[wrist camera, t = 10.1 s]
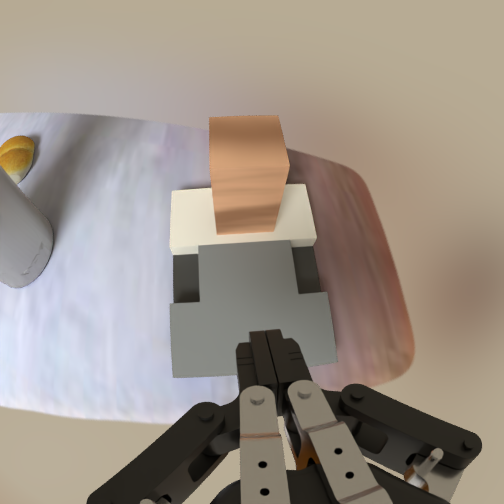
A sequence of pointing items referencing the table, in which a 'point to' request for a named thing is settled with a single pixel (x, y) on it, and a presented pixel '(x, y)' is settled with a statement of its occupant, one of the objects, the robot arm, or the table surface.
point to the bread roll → (17, 157)
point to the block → (247, 172)
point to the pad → (204, 233)
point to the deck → (246, 305)
